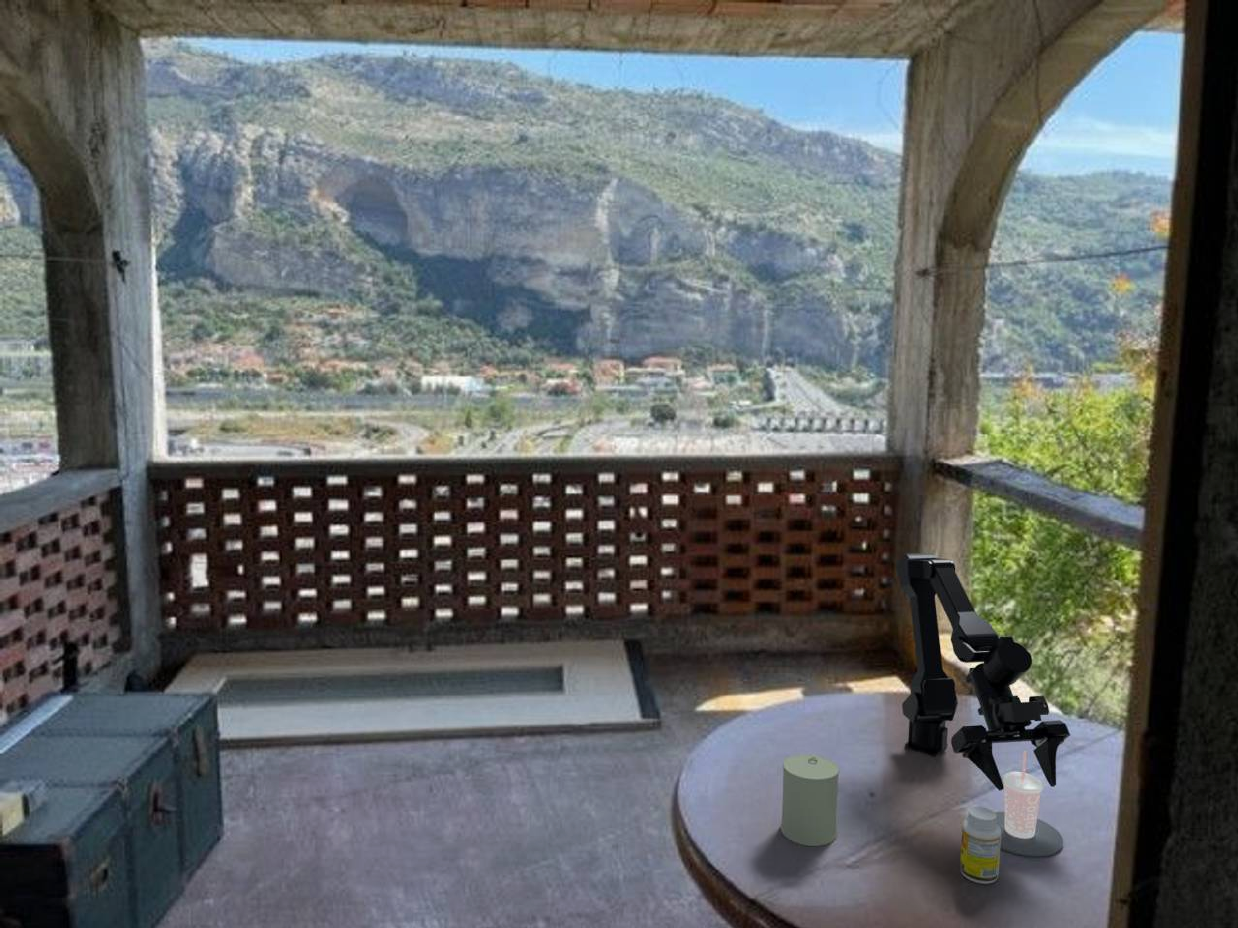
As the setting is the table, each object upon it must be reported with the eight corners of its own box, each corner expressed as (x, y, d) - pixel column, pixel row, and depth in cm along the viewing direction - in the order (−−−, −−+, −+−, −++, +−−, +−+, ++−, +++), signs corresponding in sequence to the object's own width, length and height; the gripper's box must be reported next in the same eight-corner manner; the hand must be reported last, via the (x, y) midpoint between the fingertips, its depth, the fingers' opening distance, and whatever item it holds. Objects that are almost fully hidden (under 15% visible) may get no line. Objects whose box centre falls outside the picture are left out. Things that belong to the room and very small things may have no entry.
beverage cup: (1009, 841, 150) (1014, 759, 148) (993, 821, 156) (998, 743, 154) (1046, 840, 150) (1052, 759, 148) (1029, 821, 156) (1035, 743, 154)
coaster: (965, 836, 152) (965, 833, 152) (992, 807, 162) (993, 803, 162) (1049, 866, 144) (1049, 863, 144) (1072, 833, 153) (1072, 829, 153)
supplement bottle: (967, 860, 145) (970, 799, 144) (1003, 873, 142) (1007, 811, 140) (953, 876, 141) (957, 813, 140) (991, 890, 137) (995, 826, 136)
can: (839, 822, 156) (842, 755, 155) (833, 850, 148) (836, 780, 146) (785, 813, 159) (787, 747, 158) (776, 840, 151) (778, 771, 149)
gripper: (963, 680, 152) (995, 774, 142) (1067, 675, 154) (1106, 767, 145) (937, 706, 160) (966, 797, 151) (1036, 701, 163) (1071, 790, 154)
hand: (1027, 787), depth 150 cm, fingers open, 9 cm apart
